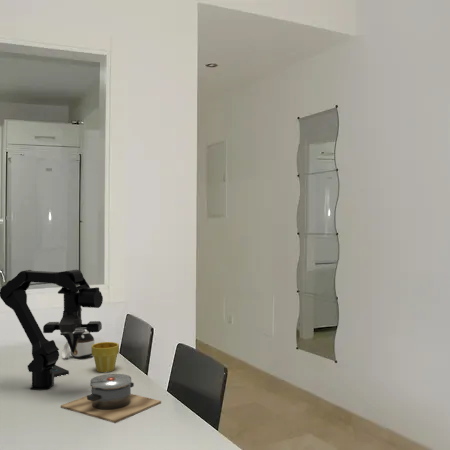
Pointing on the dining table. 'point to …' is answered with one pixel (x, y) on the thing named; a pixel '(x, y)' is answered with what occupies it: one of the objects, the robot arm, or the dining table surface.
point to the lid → (110, 381)
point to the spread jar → (80, 347)
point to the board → (114, 415)
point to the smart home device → (59, 371)
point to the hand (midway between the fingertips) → (73, 352)
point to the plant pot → (105, 355)
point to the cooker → (111, 398)
